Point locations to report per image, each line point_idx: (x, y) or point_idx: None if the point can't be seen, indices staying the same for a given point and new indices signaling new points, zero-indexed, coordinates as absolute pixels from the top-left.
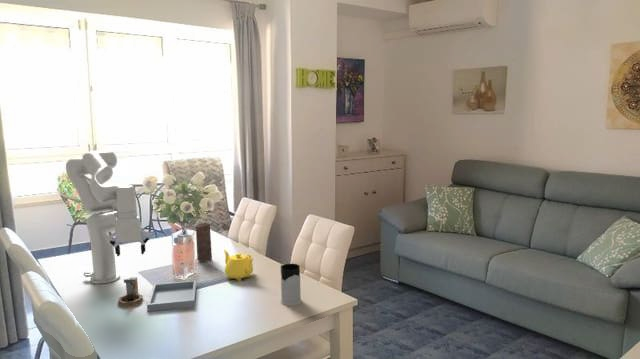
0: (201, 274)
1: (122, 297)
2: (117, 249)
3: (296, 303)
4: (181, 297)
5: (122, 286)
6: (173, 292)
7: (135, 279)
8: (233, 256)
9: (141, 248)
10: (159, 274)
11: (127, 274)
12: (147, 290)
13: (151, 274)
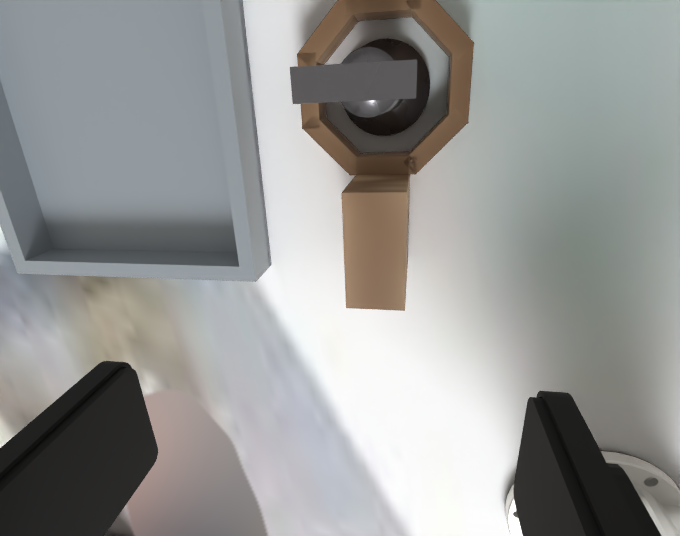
0: None
1: (444, 119)
2: (610, 526)
3: None
4: (65, 90)
5: (475, 379)
6: (140, 190)
7: (293, 84)
8: None
9: (36, 439)
10: (293, 476)
11: (465, 528)
12: (312, 278)
13: (335, 489)
